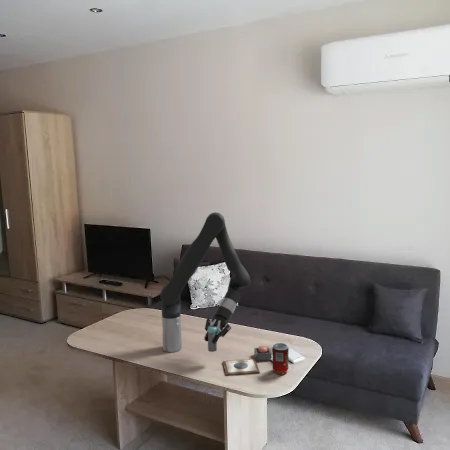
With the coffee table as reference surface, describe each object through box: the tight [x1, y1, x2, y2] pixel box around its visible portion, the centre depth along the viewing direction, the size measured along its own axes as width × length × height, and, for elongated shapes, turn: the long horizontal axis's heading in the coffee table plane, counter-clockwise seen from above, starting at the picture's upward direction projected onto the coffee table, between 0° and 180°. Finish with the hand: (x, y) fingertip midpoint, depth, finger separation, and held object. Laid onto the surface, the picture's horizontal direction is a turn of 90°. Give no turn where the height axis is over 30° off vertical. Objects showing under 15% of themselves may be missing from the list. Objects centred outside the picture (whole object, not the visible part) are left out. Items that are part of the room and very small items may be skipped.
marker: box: [207, 326, 218, 353], centre depth 206 cm, size 4×4×11 cm
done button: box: [257, 345, 268, 353], centre depth 213 cm, size 4×4×2 cm
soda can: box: [272, 342, 290, 375], centre depth 199 cm, size 7×7×12 cm
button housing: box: [253, 346, 273, 362], centre depth 213 cm, size 7×7×4 cm
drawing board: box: [222, 358, 261, 377], centre depth 203 cm, size 15×13×1 cm
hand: (209, 341), depth 205 cm, fingers closed on marker, 4 cm apart
